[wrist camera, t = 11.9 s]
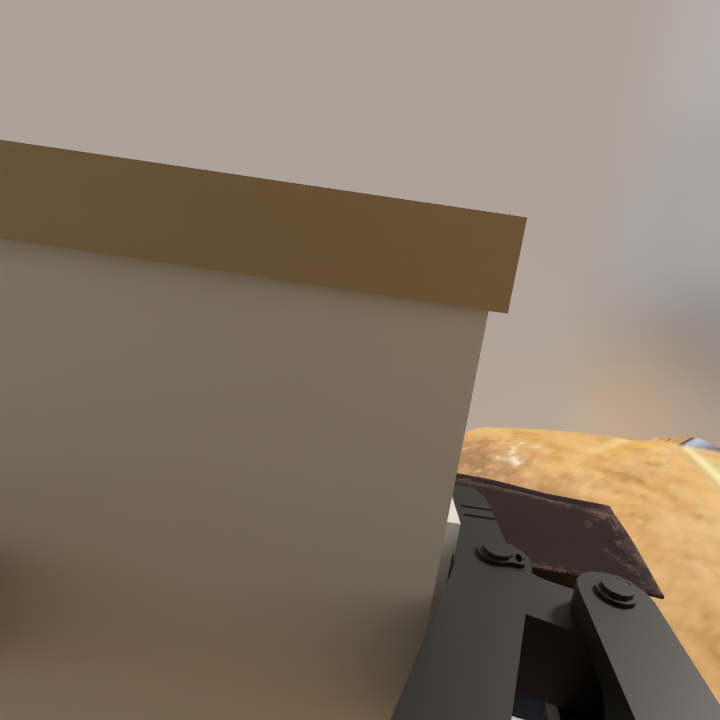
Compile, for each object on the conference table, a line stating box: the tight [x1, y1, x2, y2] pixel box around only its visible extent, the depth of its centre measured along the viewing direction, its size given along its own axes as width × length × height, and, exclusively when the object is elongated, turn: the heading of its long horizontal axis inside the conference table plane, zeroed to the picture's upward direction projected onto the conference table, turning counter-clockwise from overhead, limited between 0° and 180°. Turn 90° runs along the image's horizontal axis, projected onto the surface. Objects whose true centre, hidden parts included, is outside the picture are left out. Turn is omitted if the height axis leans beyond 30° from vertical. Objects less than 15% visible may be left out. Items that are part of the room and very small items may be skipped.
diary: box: [455, 473, 664, 599], centre depth 52 cm, size 19×25×5 cm
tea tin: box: [0, 140, 527, 720], centre depth 12 cm, size 7×7×17 cm
